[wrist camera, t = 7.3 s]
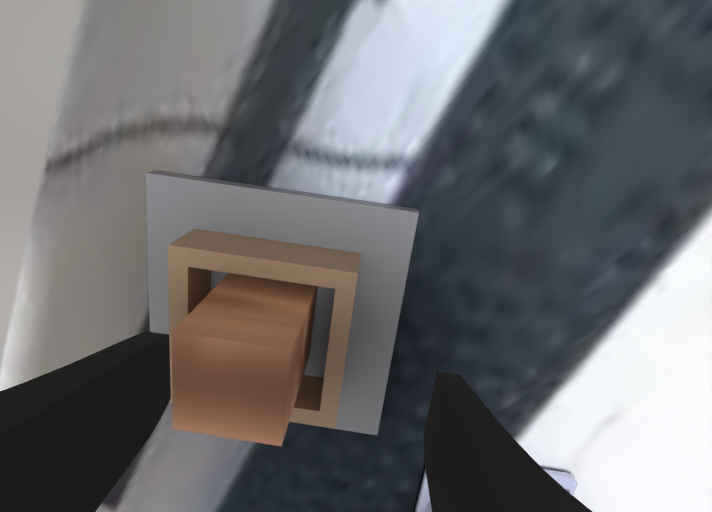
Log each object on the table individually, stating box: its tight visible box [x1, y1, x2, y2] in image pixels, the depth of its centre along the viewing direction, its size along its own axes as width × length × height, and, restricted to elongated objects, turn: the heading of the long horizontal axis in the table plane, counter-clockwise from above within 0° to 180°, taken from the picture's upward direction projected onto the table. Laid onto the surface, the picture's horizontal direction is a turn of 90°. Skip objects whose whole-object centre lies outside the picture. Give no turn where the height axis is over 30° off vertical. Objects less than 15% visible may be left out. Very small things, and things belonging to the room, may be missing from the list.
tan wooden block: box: [172, 273, 318, 446], centre depth 18 cm, size 4×4×6 cm
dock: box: [146, 171, 419, 435], centre depth 20 cm, size 12×12×3 cm
